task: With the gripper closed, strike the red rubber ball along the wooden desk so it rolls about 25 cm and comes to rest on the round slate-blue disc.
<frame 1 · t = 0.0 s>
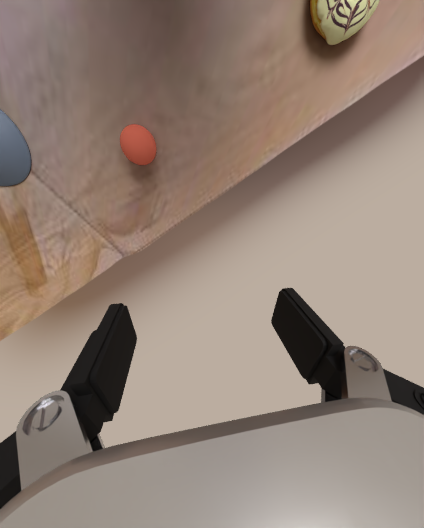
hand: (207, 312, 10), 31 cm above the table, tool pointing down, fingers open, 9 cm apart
ball: (138, 145, 28), on the table
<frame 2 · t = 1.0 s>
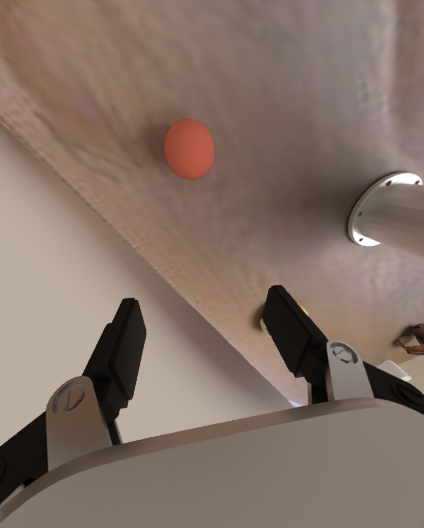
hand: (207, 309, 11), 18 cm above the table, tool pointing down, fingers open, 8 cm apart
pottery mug: (409, 331, 55), on the table
ball: (189, 151, 19), on the table
white cube: (383, 364, 66), on the table
decorated donut: (278, 313, 40), on the table
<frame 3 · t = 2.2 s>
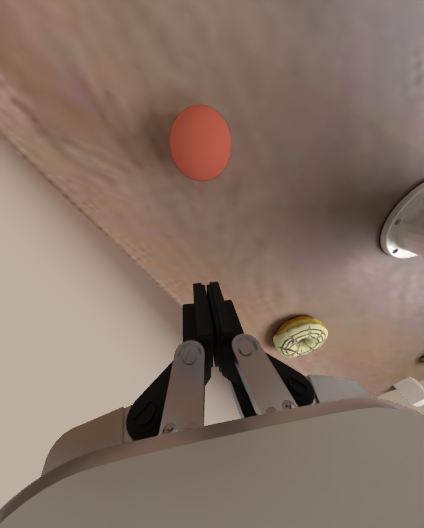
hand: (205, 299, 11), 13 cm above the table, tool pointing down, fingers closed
ball: (201, 146, 15), on the table
white cube: (403, 381, 61), on the table
decorated donut: (293, 329, 36), on the table
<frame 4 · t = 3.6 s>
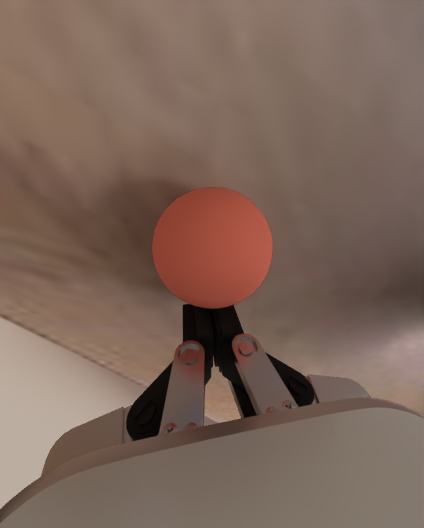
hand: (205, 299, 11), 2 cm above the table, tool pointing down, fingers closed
ball: (212, 249, 8), on the table, touching gripper
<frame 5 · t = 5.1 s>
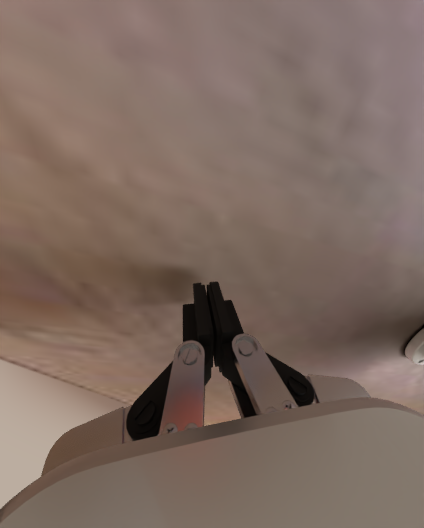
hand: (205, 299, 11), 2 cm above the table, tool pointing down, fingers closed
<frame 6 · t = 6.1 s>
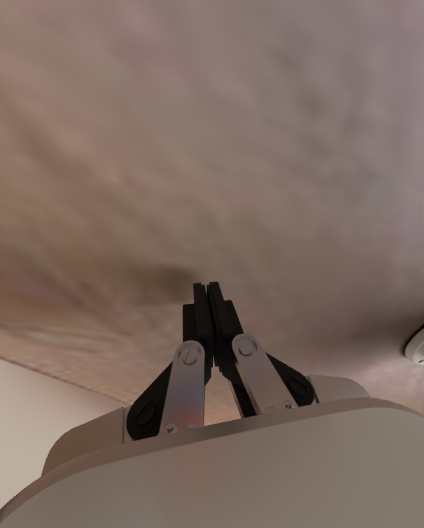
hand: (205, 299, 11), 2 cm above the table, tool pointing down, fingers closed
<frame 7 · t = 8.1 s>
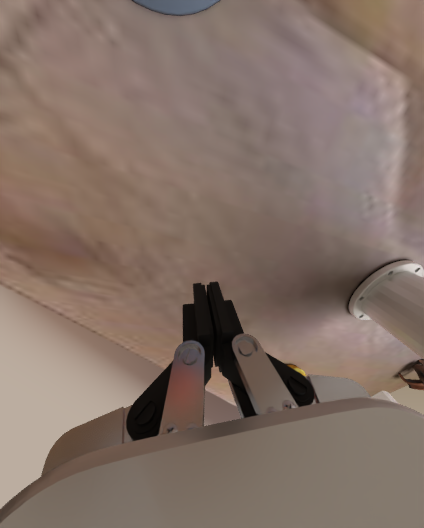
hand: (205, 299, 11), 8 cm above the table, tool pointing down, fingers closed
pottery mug: (410, 365, 57), on the table
white cube: (377, 394, 67), on the table
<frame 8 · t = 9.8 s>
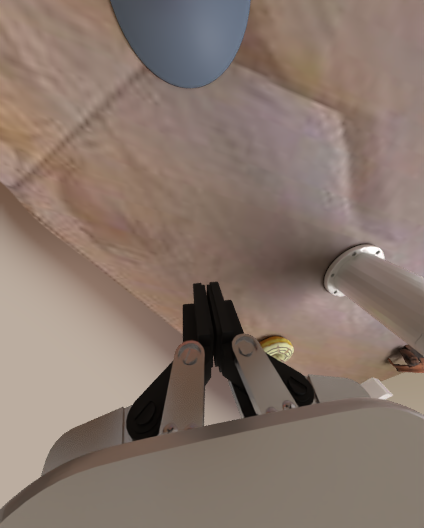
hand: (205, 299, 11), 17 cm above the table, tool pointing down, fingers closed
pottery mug: (398, 350, 61), on the table
white cube: (368, 381, 72), on the table
decorated donut: (269, 345, 47), on the table
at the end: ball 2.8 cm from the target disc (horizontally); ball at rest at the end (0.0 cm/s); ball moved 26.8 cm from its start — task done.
